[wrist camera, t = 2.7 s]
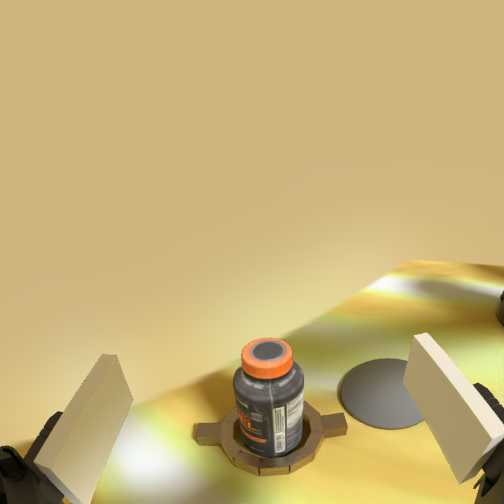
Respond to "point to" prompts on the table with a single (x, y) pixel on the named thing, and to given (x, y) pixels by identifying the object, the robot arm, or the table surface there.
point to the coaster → (380, 395)
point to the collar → (318, 431)
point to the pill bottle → (269, 397)
